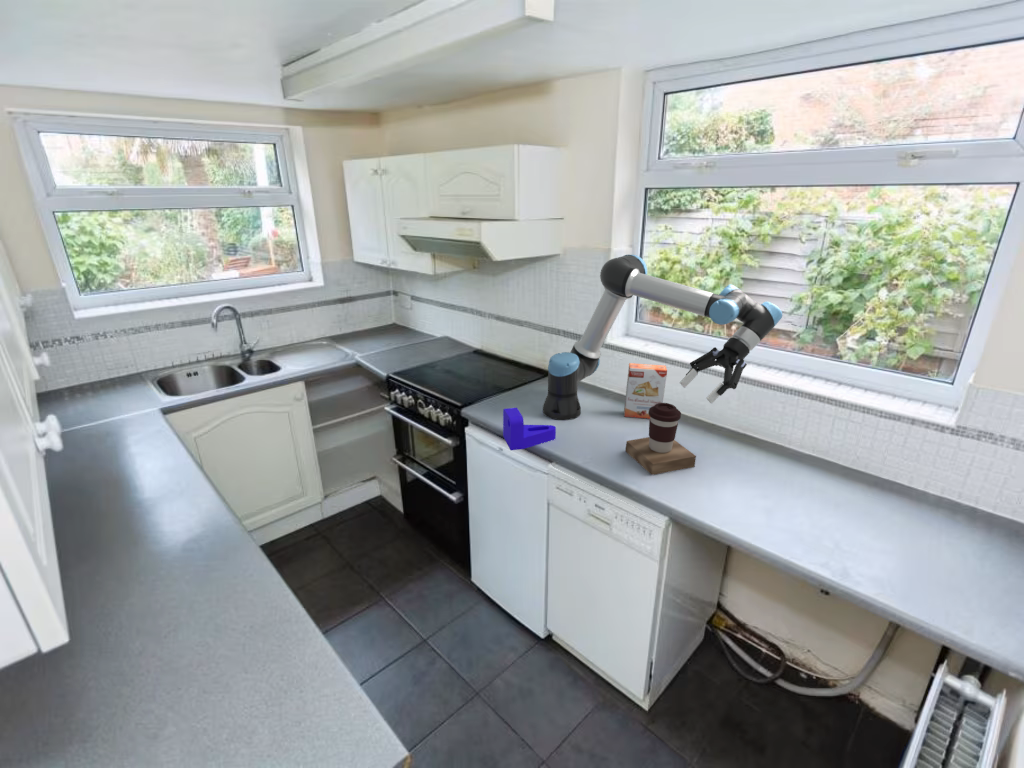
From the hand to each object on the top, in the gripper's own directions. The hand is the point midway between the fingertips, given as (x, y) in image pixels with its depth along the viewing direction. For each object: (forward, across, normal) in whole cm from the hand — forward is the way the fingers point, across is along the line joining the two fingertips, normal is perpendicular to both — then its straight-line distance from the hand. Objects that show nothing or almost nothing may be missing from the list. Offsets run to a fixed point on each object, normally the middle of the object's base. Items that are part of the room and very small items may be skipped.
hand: (694, 392), depth 163 cm
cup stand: (+23, 0, -8) cm, 25 cm away
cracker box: (+14, +31, -18) cm, 38 cm away
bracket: (+49, +26, +17) cm, 58 cm away
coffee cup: (+21, 0, -6) cm, 21 cm away
